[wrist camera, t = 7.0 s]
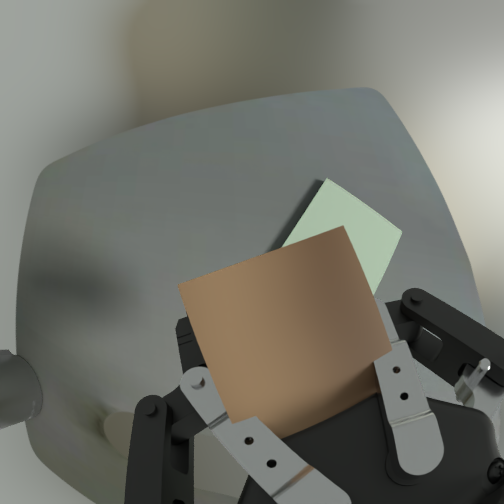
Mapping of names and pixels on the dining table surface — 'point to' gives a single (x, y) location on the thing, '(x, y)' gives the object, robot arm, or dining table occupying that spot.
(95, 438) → the dining table surface
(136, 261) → the dining table surface
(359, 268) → the walnut block
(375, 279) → the rubber mat
